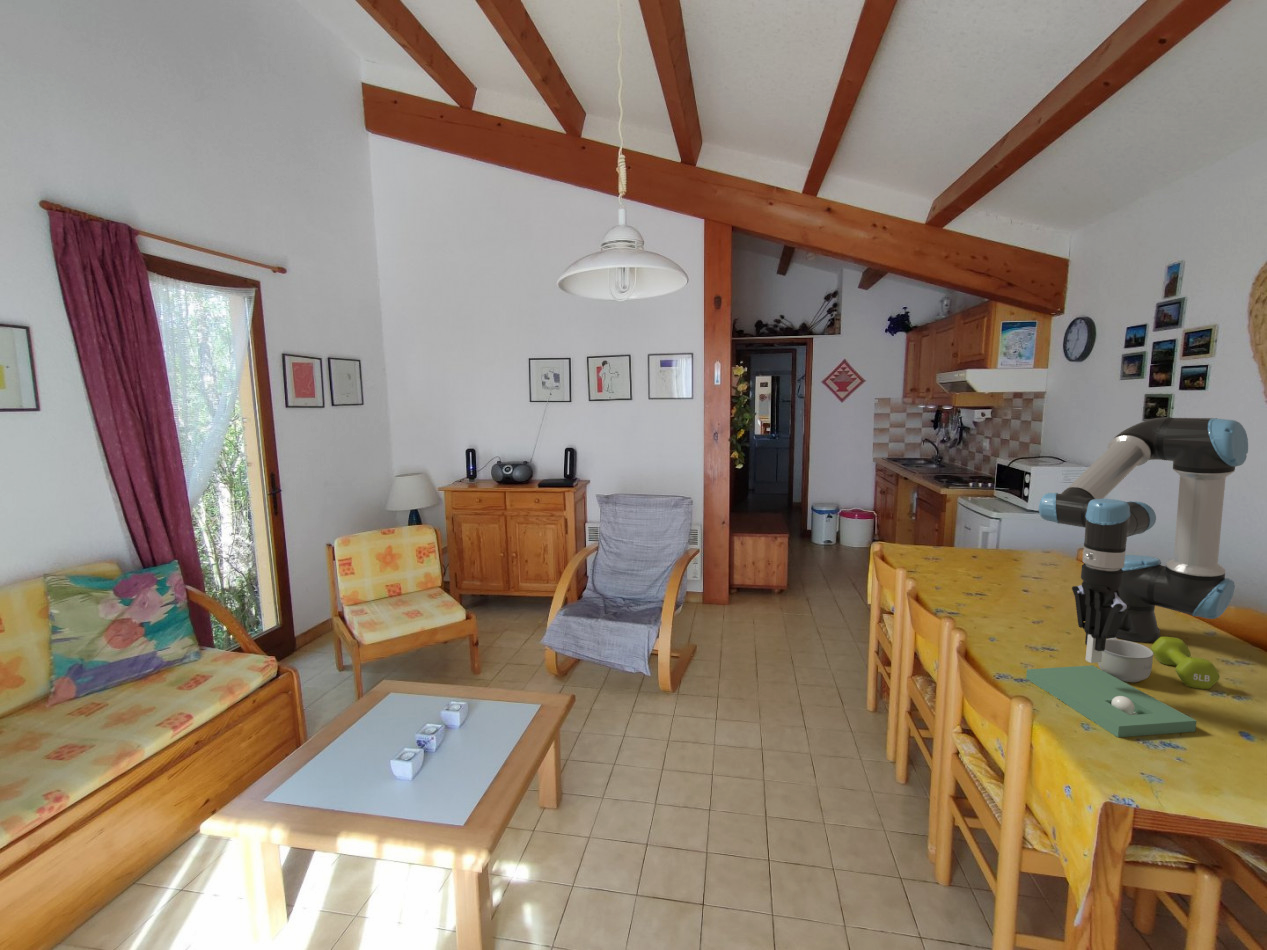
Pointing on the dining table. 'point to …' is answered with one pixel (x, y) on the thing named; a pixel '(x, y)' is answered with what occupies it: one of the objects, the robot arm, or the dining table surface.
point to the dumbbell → (1185, 663)
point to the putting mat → (1094, 696)
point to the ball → (1123, 704)
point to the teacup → (1126, 660)
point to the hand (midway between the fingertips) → (1093, 661)
